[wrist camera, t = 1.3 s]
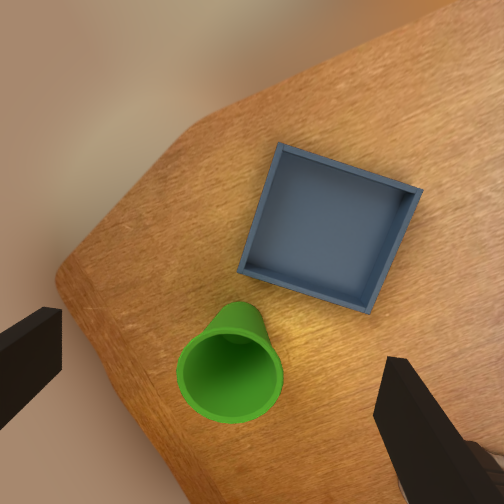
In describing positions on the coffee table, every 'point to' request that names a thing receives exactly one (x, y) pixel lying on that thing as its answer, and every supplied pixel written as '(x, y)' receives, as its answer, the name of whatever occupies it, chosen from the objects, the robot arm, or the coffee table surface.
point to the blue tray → (327, 228)
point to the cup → (231, 367)
